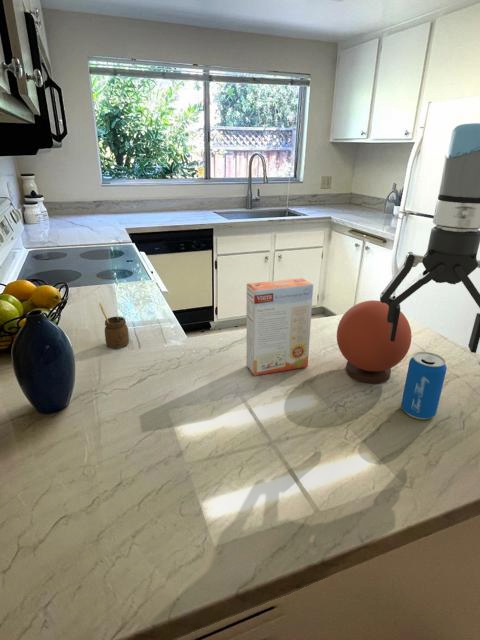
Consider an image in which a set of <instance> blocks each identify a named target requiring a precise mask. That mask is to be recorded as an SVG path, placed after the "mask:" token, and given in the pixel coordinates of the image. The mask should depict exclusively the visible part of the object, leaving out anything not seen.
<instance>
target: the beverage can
mask: <svg viewBox="0 0 480 640" xmlns="http://www.w3.org/2000/svg"><path fill="white" fill-rule="evenodd" d="M447 370H448V369H447V365H446V360H445V358H444V357H442V356H441V355H439V354H437V353H434V352H429V351H418V352H415V353H413V355H412V357H411V358H410V359H409V362H408V367H407V371H406V377H405V383H404V388H403V393H402V397H401V404H400V407H401V409H402V410H403V412H405V413H406V415H408V416H409V417H411V418H414V419H417V420H428V419H431V418H432V419H433V418H435V416H436V415H437V412H438V408H439V404H440V399H441V395H442V390H443V388H444V387H443V386H444V382H445V378H446V374H447Z"/></svg>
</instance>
